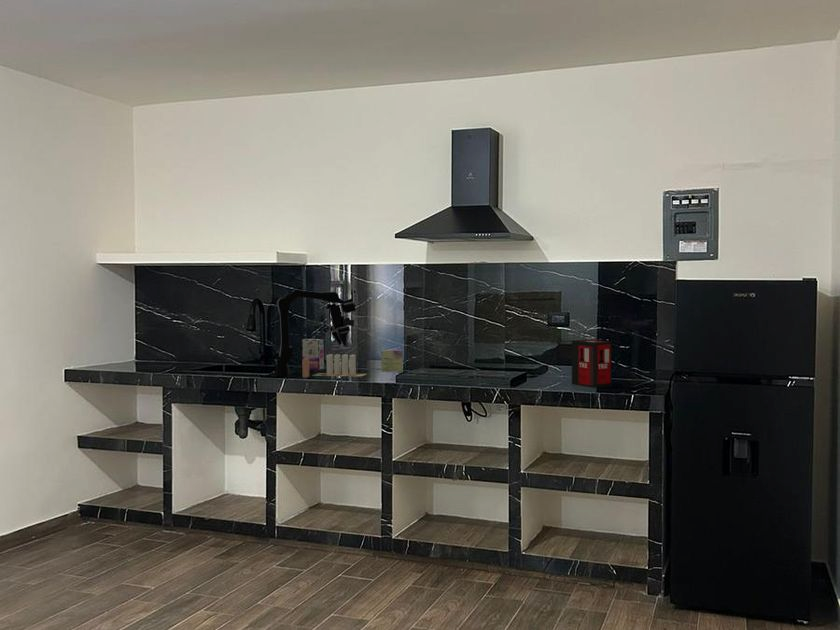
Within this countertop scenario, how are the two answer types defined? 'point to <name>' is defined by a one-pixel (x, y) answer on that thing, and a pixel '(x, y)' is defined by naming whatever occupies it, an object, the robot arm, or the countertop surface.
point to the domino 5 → (352, 365)
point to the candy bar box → (314, 352)
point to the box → (391, 360)
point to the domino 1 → (305, 367)
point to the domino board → (337, 375)
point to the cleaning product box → (592, 363)
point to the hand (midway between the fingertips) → (342, 345)
